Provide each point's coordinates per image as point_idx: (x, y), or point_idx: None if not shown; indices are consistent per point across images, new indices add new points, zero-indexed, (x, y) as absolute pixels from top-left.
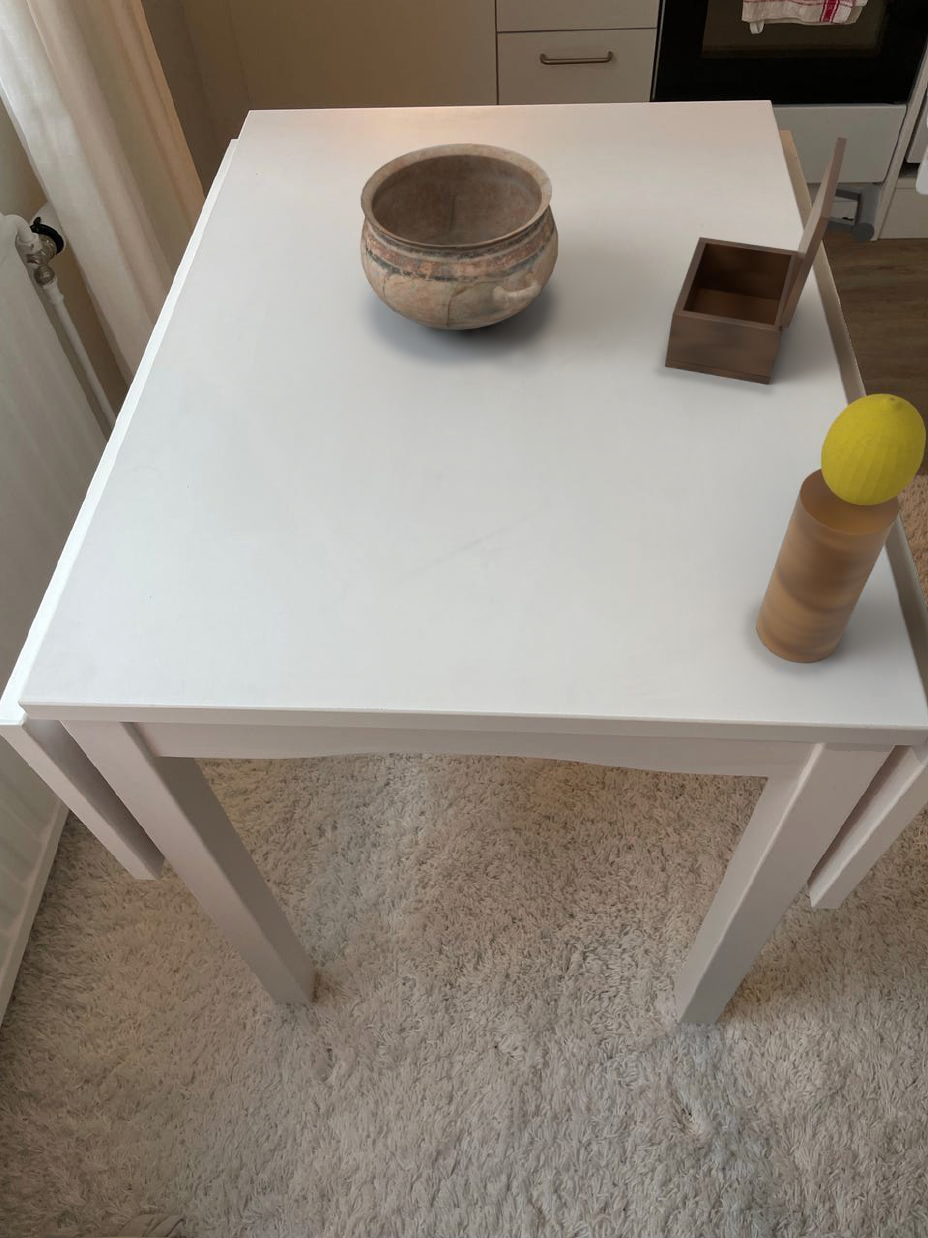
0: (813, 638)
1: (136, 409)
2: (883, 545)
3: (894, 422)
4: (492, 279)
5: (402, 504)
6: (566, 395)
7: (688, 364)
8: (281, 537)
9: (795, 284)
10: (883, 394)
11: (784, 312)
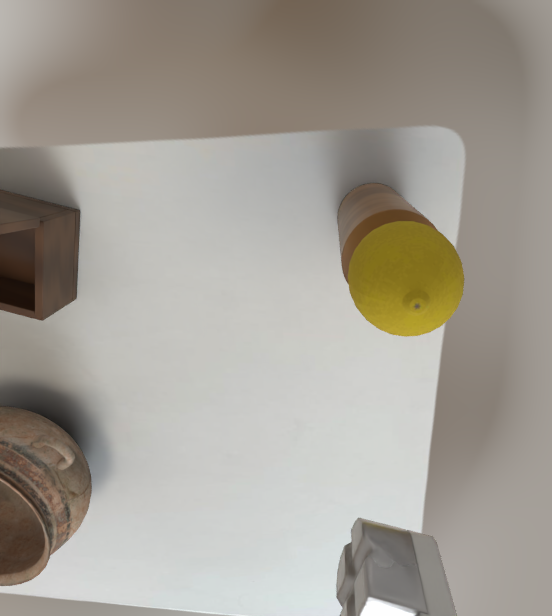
0: None
1: (190, 609)
2: (415, 209)
3: (443, 299)
4: (56, 477)
5: (257, 475)
6: (128, 374)
7: (73, 282)
8: (292, 536)
9: (4, 232)
10: (385, 301)
11: (28, 228)
